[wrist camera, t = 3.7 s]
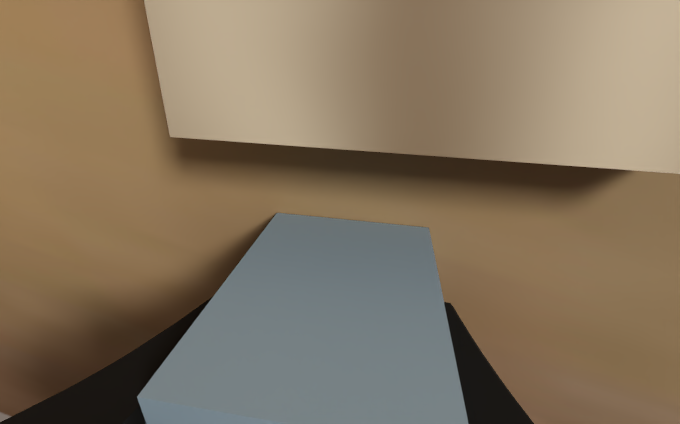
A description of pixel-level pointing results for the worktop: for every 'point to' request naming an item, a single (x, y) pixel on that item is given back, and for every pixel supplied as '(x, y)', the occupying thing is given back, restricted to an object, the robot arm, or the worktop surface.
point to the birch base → (429, 77)
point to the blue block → (318, 334)
